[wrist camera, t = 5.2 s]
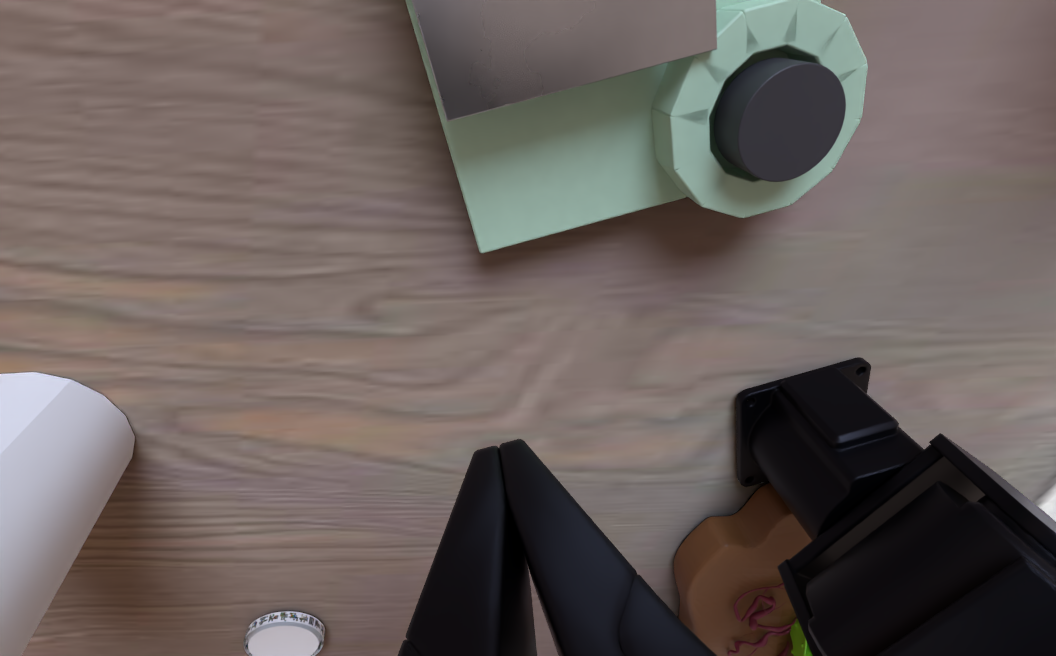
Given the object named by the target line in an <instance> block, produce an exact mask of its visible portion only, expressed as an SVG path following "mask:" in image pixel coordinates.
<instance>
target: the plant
mask: <svg viewBox="0 0 1056 656" xmlns="http://www.w3.org/2000/svg"><path fill="white" fill-rule="evenodd" d="M810 542H812V540H811V539H810V537H809V536H808V534H807V533H806V532H805V530H804V529H803V528H802V526H801V525H800V523H799V522H798V521H797V519H796V518H795V516H794V515H793V514H792V512H791V511H790V509H789V508H788V507H787V505H786V504H785V502H784V501H783V500H782V498H781V497H780V495H779V494H778V493H777V491H776V490H775V489H774V487H773V486H772V484H771V483H768V484H766V485H763V486H762V487H760V488H759V489H758V490H757V491H756V492H755V493H754V494H753V496H752V497H751V498H750V499H749V501H748V502H747V503H746V504H745V506H744V507H743V508H742V509H741V510H740V511H738V512H737V513H735V514H733V515H731V516H715V517H709V518H707V519H705V520H704V521H703V522H702V523H701V524H700V525H699V526H698V527H697V528H695V529H694V530H693V531H692V532H691V533H690V534H689V536H688V537H687V538H686V539H685V540H684V542H683V543H682V544H681V546H680V547H679V549H678V551H677V553H676V555H675V559H674V575H675V580H676V584H677V588H678V591H679V594H680V608H679V619H680V621H682V622H683V623H684V624H685V625H686V626H687V627H688V628H689V629H690V630H691V631H692V632H693V633H694V634H695V635H696V636H697V637H698V638H699V639H700V640H701V641H702V642H703V643H704V644H705V645H706V646H707V647H708V648H709V649H710V650H712V651H713V652H714V653H715V654H716V655H717V656H813V655H812V653H811V650H810V648H809V645H808V643H807V641H806V638H805V636H804V633H803V631H802V629H801V626H800V624H799V621H798V619H797V616H796V614H795V612H794V609H793V607H792V604H791V602H790V599H789V597H788V595H787V592H786V590H785V587H784V583H783V580H782V578H781V576H780V573H779V571H778V568H777V566H778V565H780V564H781V563H782V562H783V561H784V560H786V559H791V558H792V557H793V556H794V555H796V554H797V553H798V552H799V551H801V550H802V549H803V548H804V547H805V546H807V545H808V544H809V543H810Z"/></svg>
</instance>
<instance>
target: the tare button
mask: <svg viewBox="0 0 1056 656" xmlns="http://www.w3.org/2000/svg"><path fill="white" fill-rule="evenodd" d="M845 112H846V99H845V93H844V89H843V87H842V84H841V82H840V81H839V79H838V77H837V76H836V75H835V74H834V73H833V72H832V71H831V70H830V69H828V68H827V67H825V66H823V65H820V64H817V63H811V62H805V61H799V60H793V59H787V58H768V59H764V60H761V61H758V62H756V63H754V64H752V65H750V66H749V67H747V68H746V69H744V70H743V71H742V72H741V73H739V74H738V75H737V76H736V77H735V78H734V79H733V80H732V82H731V83H730V84H729V85H728V87H727V88H726V90H725V91H724V93H723V95H722V97H721V99H720V101H719V104H718V106H717V109H716V113H715V119H714V137H715V141H716V144H717V147H718V149H719V151H720V153H721V154H722V156H723V157H724V158H725V159H726V160H727V161H728V162H729V163H731V164H733V165H734V166H736V167H738V168H740V169H742V170H744V171H746V172H747V173H749V174H751V175H753V176H755V177H757V178H759V179H762V180H764V181H769V182H782V181H787V180H791V179H794V178H797V177H799V176H801V175H803V174H805V173H806V172H808V171H810V170H811V169H812V168H814V167H815V166H816V165H817V164H818V163H819V162H820V161H821V160H822V159H823V158H824V157H825V156H826V155H827V154H828V152H829V151H830V150H831V148H832V147H833V145H834V144H835V142H836V140H837V138H838V136H839V134H840V131H841V129H842V126H843V122H844V118H845Z"/></svg>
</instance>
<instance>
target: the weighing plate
mask: <svg viewBox="0 0 1056 656" xmlns="http://www.w3.org/2000/svg"><path fill="white" fill-rule="evenodd" d="M412 3H413V7H414V10H415V14H416V17H417V21H418V24H419V27H420V31H421V34H422V38H423V41H424V45H425V48H426V52H427V55H428V59H429V62H430V66H431V69H432V72H433V76H434V79H435V83H436V86H437V90H438V93H439V97H440V100H441V104H442V107H443V110H444V114H445V117H446V121H447V122H449V121H452V120H456V119H460V118H463V117H467V116H471V115H475V114H478V113H482V112H486V111H490V110H493V109H497V108H501V107H504V106H508V105H512V104H516V103H519V102H523V101H527V100H530V99H534V98H538V97H542V96H545V95H549V94H553V93H557V92H560V91H564V90H568V89H571V88H575V87H579V86H583V85H586V84H590V83H594V82H597V81H601V80H605V79H609V78H612V77H616V76H620V75H624V74H627V73H631V72H635V71H638V70H642V69H646V68H650V67H653V66H657V65H661V64H664V63H668V62H672V61H676V60H679V59H683V58H687V57H690V56H694V55H698V54H702V53H705V52H709V51H713V50H716V49H717V20H716V0H412Z"/></svg>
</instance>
